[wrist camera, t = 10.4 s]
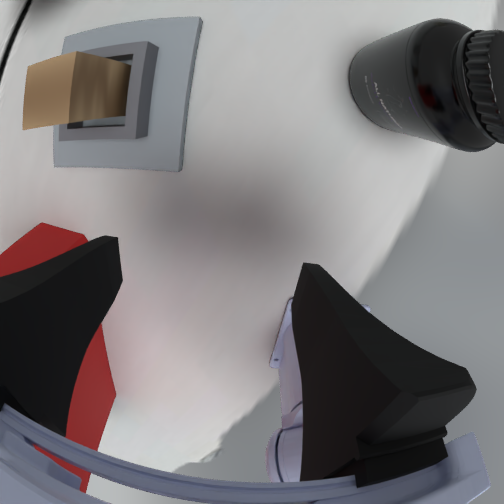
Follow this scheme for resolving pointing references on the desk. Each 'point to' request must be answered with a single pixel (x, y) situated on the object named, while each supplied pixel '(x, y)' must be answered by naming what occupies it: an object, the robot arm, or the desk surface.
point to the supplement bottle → (435, 84)
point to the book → (95, 360)
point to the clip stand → (136, 97)
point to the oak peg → (74, 90)
